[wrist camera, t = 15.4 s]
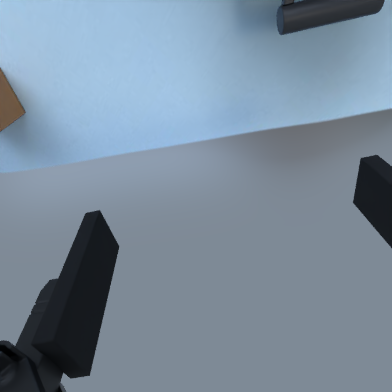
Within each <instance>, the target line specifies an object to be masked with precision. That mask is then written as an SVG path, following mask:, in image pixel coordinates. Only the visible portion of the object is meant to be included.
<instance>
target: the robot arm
mask: <svg viewBox="0 0 392 392" xmlns="http://www.w3.org/2000/svg"><path fill="white" fill-rule="evenodd" d="M353 203H354V204H355V205H356V207H357V208H358V209H359V210H360V211H361V212H362V214H363V215H364V216H365V217H366V218H367V220H368V221H369V222H370V223H371V224H372V225H373V227H375V229H376V230H377V231H378V232H379V234H380V235H381V236H382V237H383V238H384V239H385V241H386V242H387V243H388V244H389V245H390V246H391V248H392V166H390V165H389V164H388V163H387V162H385V161H384V160H383V159H382V158H380V157H379V156H378V155H374V156H369V157H364V158H361V160H360V165H359V172H358V178H357V183H356V189H355V194H354V200H353ZM118 250H119V245H118V243H117V241H116V240H115V238H114V236H113V234H112V232H111V230H110V228H109V226H108V225H107V223H106V221H105V219H104V217H103V215H102V213H101V212H100V210H99V211H94V212H89V213H86V214H85V216H84V218H83V221H82V223H81V225H80V228H79V230H78V233H77V235H76V238H75V240H74V242H73V245H72V247H71V249H70V252H69V254H68V257H67V259H66V261H65V264H64V266H63V269H62V271H61V273H60V276H59V278H58V279H52V280H49V282H48V283H47V284H46V285H45V286H44V288H43V289H42V290H41V292H40V294H39V296H38V298H37V300H36V302H35V303H36V305H34V307H33V309H32V311H31V315H29V318H28V320H27V322H26V324H25V326H24V329H23V331H22V333H21V335H20V337H19V339H18V342H17V344H16V346H14V345H13V344H11V343H10V342H9V341H0V392H66V390H65V388H64V386H63V385H62V384H61V383H60V381H61V378H62V375H63V372H64V373H65V374H66V375H67V376H68V377H70V378H77V377H84V376H90V371H91V368H92V363H93V359H94V355H95V350H96V345H97V341H98V337H99V333H100V328H101V324H102V319H103V315H104V311H105V307H106V302H107V298H108V293H109V289H110V285H111V281H112V276H113V272H114V267H115V263H116V259H117V254H118Z"/></svg>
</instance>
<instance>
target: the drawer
mask: <svg viewBox="0 0 392 392" xmlns="http://www.w3.org/2000/svg"><path fill="white" fill-rule="evenodd" d="M384 1H385V0H303V1H298V2H294V0H282V5H281V6H279V8H278V11H277V28H278V32H279V34H280V35H284V34H289V33H293V32H298V31H302V30H306V29H311V28H315V27H320V26H324V25H328V24H333V23H337V22H341V21H346V20H350V19H355V18H359V17H363V16H368V15H372V14H376V13H378V12H379V11H380V10H381V8H382V6H383V4H384Z"/></svg>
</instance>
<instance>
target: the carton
mask: <svg viewBox="0 0 392 392" xmlns="http://www.w3.org/2000/svg"><path fill="white" fill-rule="evenodd" d="M25 113H26V112H25V110H24V109H23V107H22V105H21V103H20V102H19V100H18V98H17V96H16V95H15V93H14V91H13V89H12V88H11V86H10V84H9V82H8V81H7V79H6V77H5V75H4V74H3V72H2V70H1V68H0V132H1V131H2V130H3V129H5V128H6V127H7V126H9V125H10V124H11V123H13V122H14V121H15V120H17V119H18V118H19V117H21V116H22V115H23V114H25Z"/></svg>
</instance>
